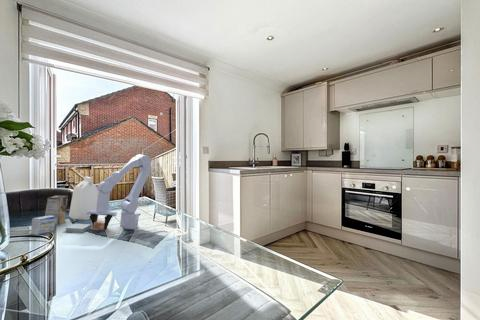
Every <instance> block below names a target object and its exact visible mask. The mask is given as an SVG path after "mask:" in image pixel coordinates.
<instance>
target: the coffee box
mask: <svg viewBox="0 0 480 320" xmlns="http://www.w3.org/2000/svg"><path fill="white" fill-rule="evenodd" d="M68 202H69V195H61V194H60V195H57V194H56V195H53V196H50V197H47V198H46V206H45V207H46V208H45V215H44V216H48V215H52V216H55V226H54V227H58V226H60V225H62V224H63V223H66V219H67V211H68Z"/></svg>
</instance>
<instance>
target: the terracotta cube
mask: <svg viewBox="0 0 480 320" xmlns="http://www.w3.org/2000/svg"><path fill="white" fill-rule="evenodd" d="M104 226H105V220H101V219H99V220H98V219H97V221H96V222H94V226H93V225H92V230H94V231H105V229H104Z"/></svg>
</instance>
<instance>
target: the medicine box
mask: <svg viewBox="0 0 480 320" xmlns="http://www.w3.org/2000/svg"><path fill="white" fill-rule="evenodd" d="M55 227H56V226H55V216H52V215H48V216H45V215H44V216H38V217H33V218H32V219H31V227H30V228H31V229H30V235H35V236H39V235H43V234H47V233H51V232H54V231H55Z"/></svg>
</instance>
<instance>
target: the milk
mask: <svg viewBox="0 0 480 320" xmlns="http://www.w3.org/2000/svg"><path fill="white" fill-rule="evenodd" d="M98 191H99V190H98V189H97V186H96V184H94V183H93V182H92V177H91V176H84V177H83V180H82V181H80V182H79V183H77V185H75V186H74V187H73V190H72V195H71V202H70V208H69V214H68V218H70V219H73V220H86V221H87V220H91V219H90V216H91V214H89V215H87V211H88V210H96V207H97V198H98Z"/></svg>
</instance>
